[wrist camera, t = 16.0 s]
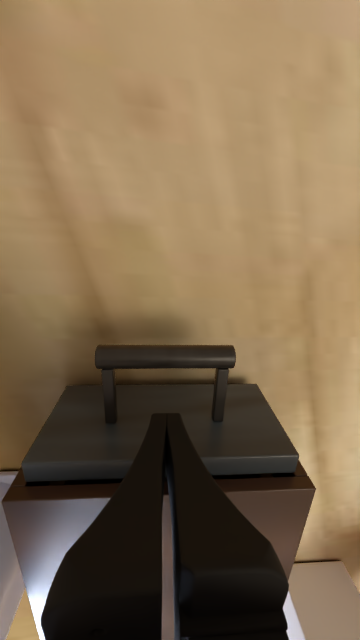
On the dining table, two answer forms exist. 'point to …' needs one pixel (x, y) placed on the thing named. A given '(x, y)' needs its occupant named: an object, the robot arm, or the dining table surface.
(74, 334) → the dining table surface
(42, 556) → the cabinet
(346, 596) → the milk carton
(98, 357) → the drawer
